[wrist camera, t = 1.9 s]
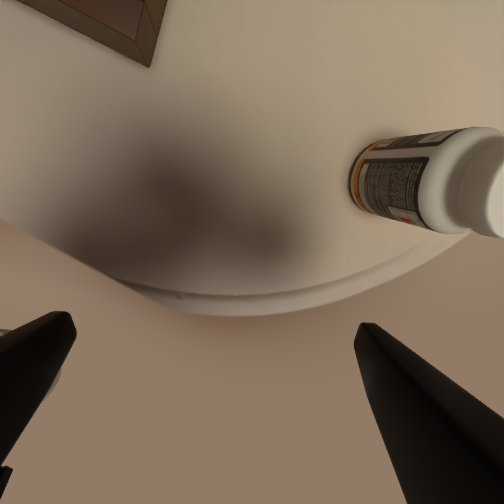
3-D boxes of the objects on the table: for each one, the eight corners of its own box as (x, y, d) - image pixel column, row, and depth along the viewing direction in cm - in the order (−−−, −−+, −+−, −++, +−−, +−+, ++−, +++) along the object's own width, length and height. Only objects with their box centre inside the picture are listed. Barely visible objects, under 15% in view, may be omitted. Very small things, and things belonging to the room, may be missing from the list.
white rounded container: (384, 223, 21) (523, 269, 12) (333, 194, 19) (451, 222, 10) (424, 161, 20) (612, 160, 11) (374, 123, 18) (549, 84, 9)
